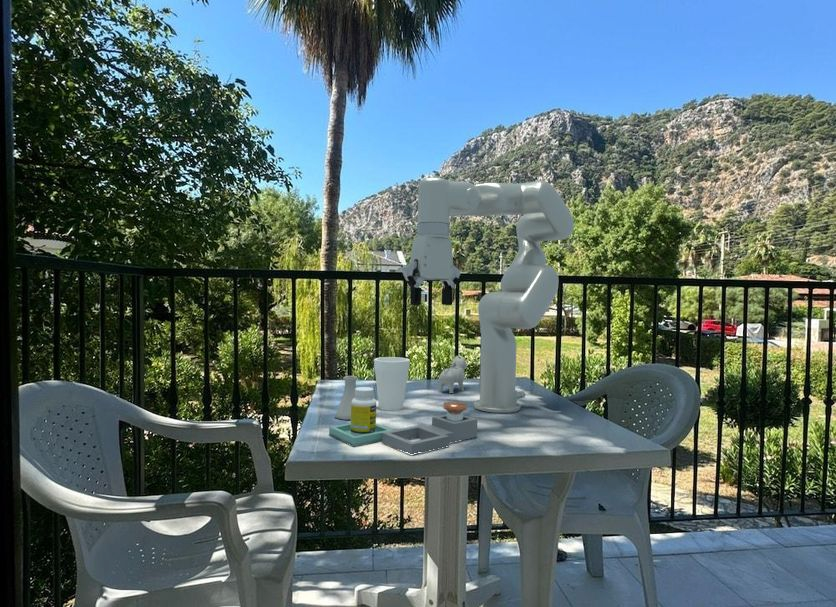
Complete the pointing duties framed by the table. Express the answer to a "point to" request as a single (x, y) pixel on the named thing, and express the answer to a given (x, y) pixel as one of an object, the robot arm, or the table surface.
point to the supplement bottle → (363, 412)
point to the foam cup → (391, 381)
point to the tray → (345, 435)
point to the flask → (347, 398)
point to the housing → (431, 434)
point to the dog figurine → (453, 374)
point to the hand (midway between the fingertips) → (431, 304)
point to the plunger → (455, 410)
